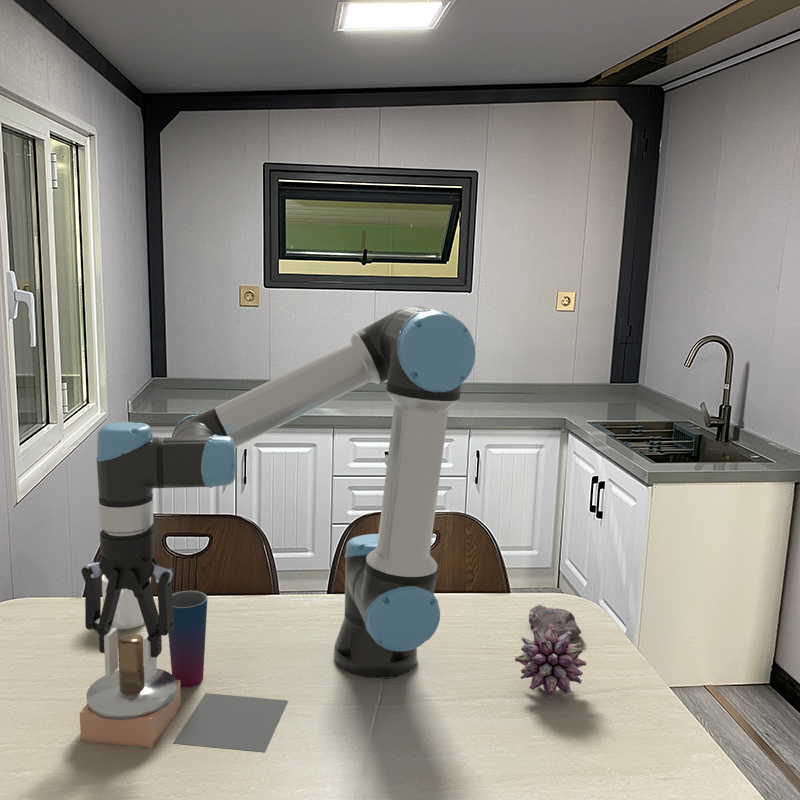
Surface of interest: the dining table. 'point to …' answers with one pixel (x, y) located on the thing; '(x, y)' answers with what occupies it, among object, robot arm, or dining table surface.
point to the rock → (553, 621)
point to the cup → (188, 637)
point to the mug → (125, 608)
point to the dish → (129, 726)
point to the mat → (232, 722)
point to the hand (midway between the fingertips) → (131, 673)
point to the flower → (551, 661)
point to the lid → (130, 686)
